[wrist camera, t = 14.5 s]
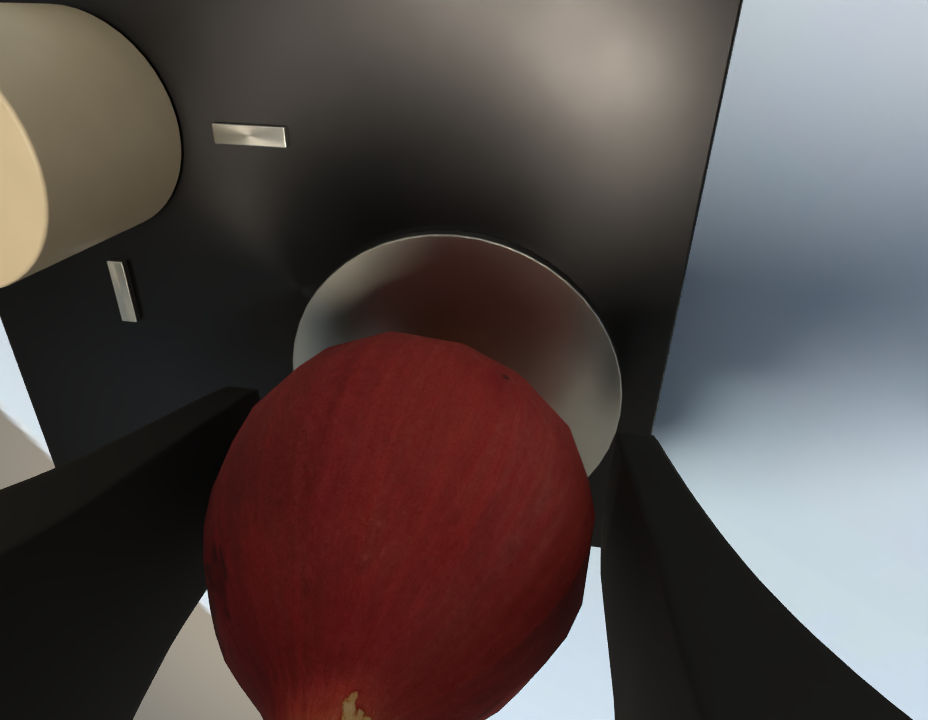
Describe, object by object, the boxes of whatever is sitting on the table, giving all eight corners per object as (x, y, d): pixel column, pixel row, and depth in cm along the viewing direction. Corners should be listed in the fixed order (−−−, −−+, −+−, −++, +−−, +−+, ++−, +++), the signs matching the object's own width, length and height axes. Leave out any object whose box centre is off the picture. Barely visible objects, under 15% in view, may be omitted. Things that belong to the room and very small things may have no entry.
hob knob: (-49, 1, 11) (-311, -4, 8) (156, 5, 11) (-33, 1, 7) (23, 221, 13) (-163, 289, 10) (200, 233, 13) (65, 310, 9)
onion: (443, 538, 15) (326, 975, 8) (263, 375, 14) (-61, 739, 7) (647, 417, 13) (724, 903, 6) (453, 202, 11) (244, 502, 4)
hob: (736, -116, 11) (779, -154, 8) (621, 483, 17) (627, 557, 15) (-68, -119, 13) (-212, -149, 10) (97, 418, 19) (31, 472, 17)
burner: (648, 244, 11) (650, 249, 11) (597, 532, 15) (597, 541, 14) (280, 216, 12) (273, 220, 12) (312, 493, 16) (308, 501, 15)
